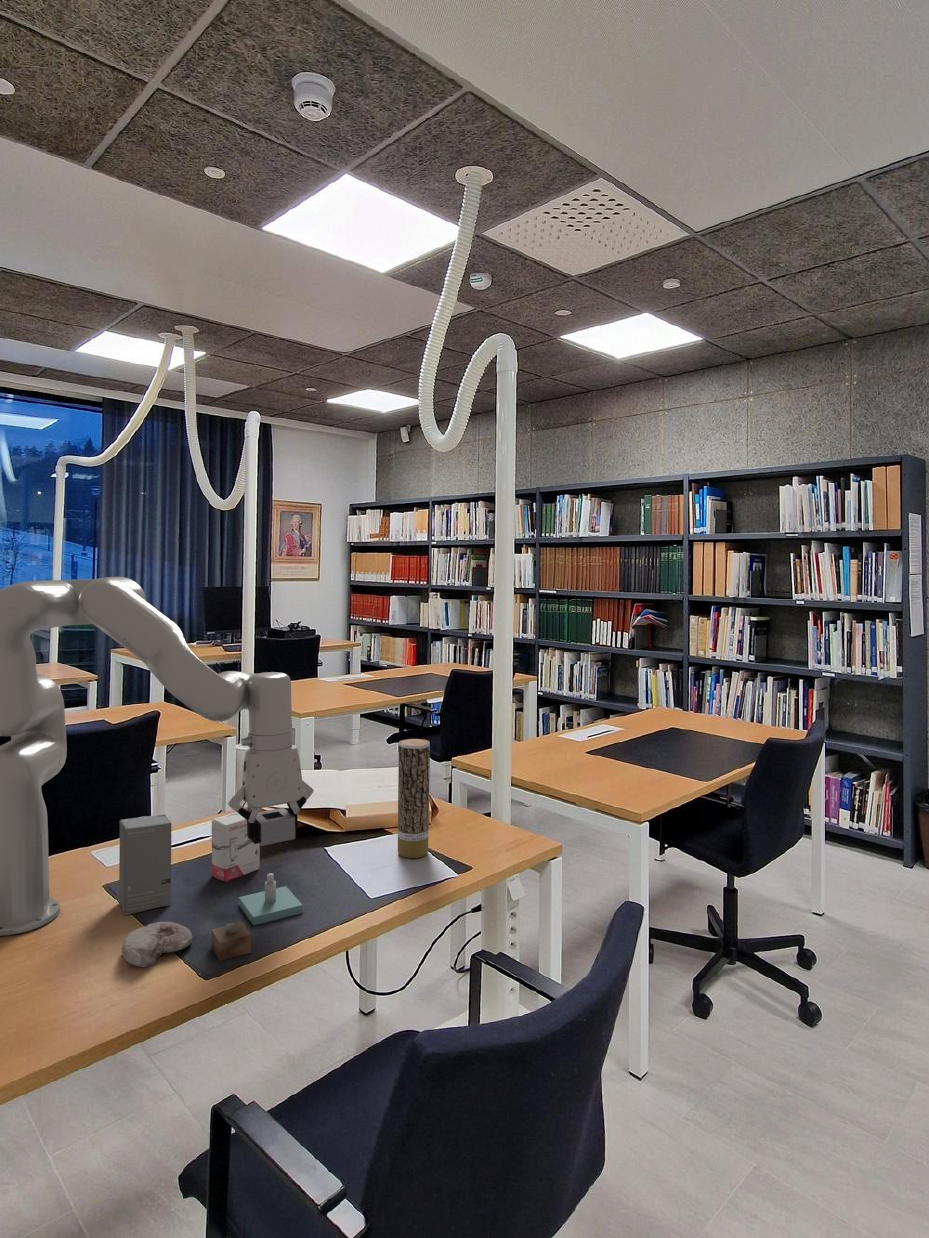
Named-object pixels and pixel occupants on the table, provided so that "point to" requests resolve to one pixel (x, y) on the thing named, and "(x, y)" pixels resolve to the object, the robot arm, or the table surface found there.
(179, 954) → the table surface
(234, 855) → the ink box
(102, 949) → the table surface
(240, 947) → the stand
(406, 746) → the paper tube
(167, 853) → the skincare box
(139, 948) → the fossil
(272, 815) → the collar
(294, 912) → the green peg base
